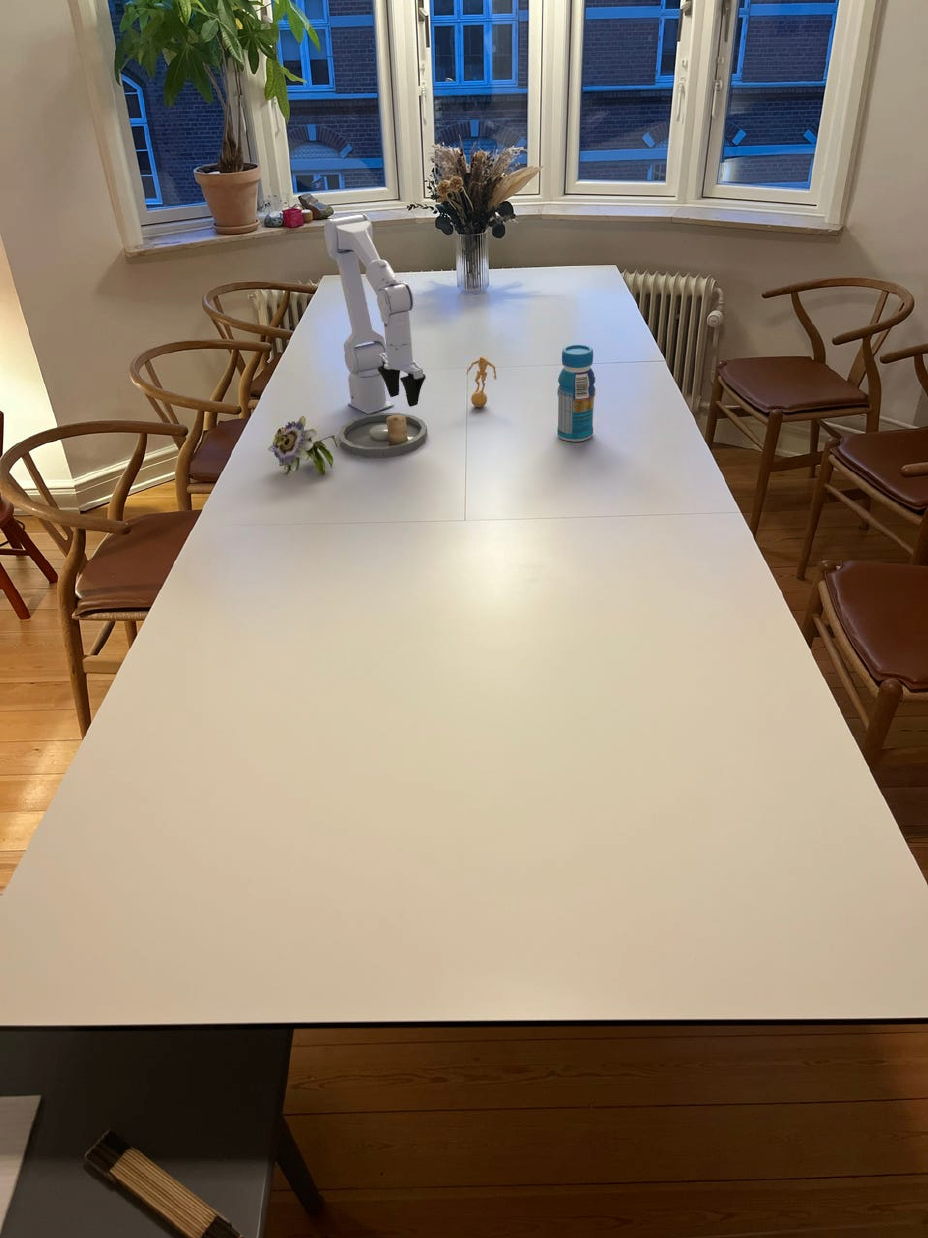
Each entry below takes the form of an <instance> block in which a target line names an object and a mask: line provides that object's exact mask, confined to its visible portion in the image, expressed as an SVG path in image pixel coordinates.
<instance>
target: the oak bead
mask: <svg viewBox="0 0 928 1238" xmlns="http://www.w3.org/2000/svg"><path fill="white" fill-rule="evenodd" d="M386 420H387V430H388V440H389V445H390V446H392V445H398V444H401V443H404V442H407V441H408V436H407V425H406V417H405V416H403V415H392V416H389V417H388V418H387V419H386Z"/></svg>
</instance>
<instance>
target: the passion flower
mask: <svg viewBox="0 0 928 1238" xmlns="http://www.w3.org/2000/svg"><path fill="white" fill-rule="evenodd" d="M306 420H307V419H306V417H305V416H304V415H302V416H301V417H300V418H299V419H298V421H294V420H292V421H291V422H290V421H288V422H287V424H285V427H283V426H281V428H280V427H279V428H278V430H277V431H276V432H275V434H274V438H273V440H272V445H271V446H269V447H268V451H270V452H272V453H273V455H274V456H275V457H276V458H277V460H278V462H279V464H278V466H279V467H283V466H284V469H283V474H288V473H289V472H291V471H292V472H293V473H296V472H297V471H298V470H299V468H300V461H301V460H302V461H307V460H309V458H310V459H311V460H312V461H313V464H314V466H315V468H316V470H317V472H318V473H319V474H321V475H326V463H325V459H326V461H327V462H328V464H329V466H330V469H332V467H333V462H334V458H333V455H332V453H331V452H330V450H329V449H328V448H327V446H326V444H325V443H323V441H324V440H327V439H330V438H331V439H333V441H334V444H335V447H336V448H337V447H339V446H340V443H339V441H338V440H337V438H336V435H335V434H333V435H330V436H328V437H325V438H323V439H321V440H317V441H315V442H313V438H314V437H315V436H317V429H316V428H312V429H306V430H305V426H306V423H307V422H306ZM319 451H320V452H319ZM321 454H323V456H324V457H325V459H324V457H323V456H322V455H321Z"/></svg>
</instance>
